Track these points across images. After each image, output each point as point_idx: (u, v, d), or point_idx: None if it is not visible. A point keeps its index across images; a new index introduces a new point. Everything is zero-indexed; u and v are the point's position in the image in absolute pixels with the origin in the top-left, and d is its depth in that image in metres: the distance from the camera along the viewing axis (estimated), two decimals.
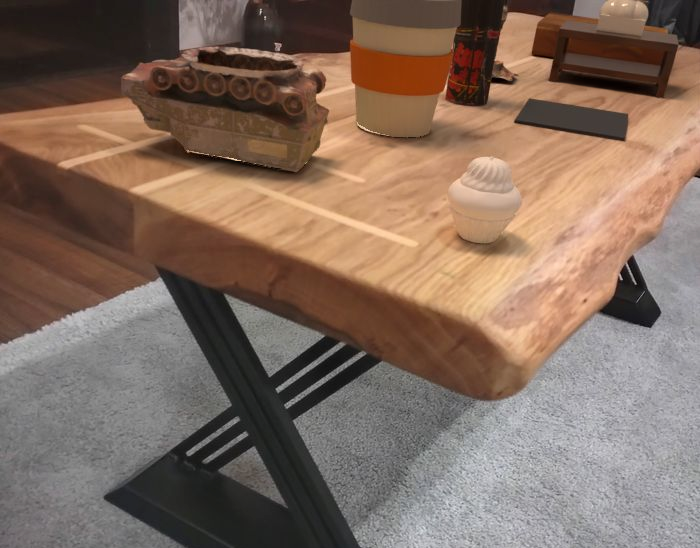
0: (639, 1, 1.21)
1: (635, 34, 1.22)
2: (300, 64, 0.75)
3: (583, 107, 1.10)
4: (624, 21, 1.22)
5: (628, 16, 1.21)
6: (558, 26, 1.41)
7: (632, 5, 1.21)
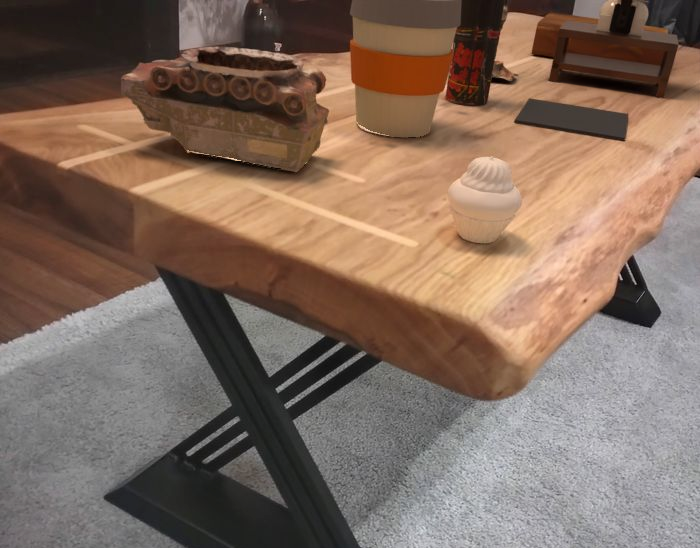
0: (639, 1, 1.21)
1: (635, 34, 1.22)
2: (300, 64, 0.75)
3: (583, 107, 1.10)
4: None
5: None
6: (558, 26, 1.41)
7: None
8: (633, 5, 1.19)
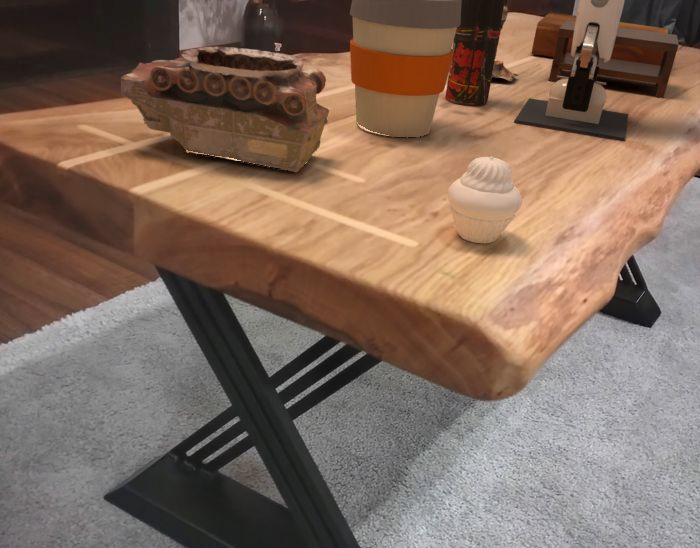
0: (595, 83, 1.01)
1: (591, 121, 1.02)
2: (300, 64, 0.75)
3: None
4: None
5: None
6: (558, 26, 1.41)
7: None
8: (590, 77, 0.96)
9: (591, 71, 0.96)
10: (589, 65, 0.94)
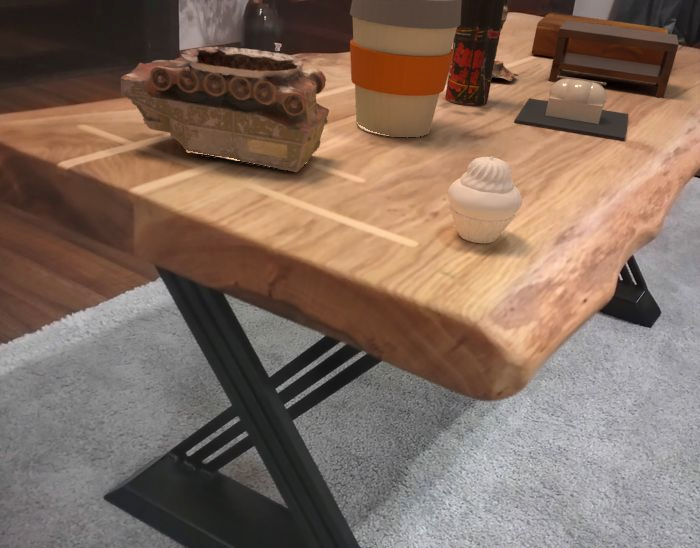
0: (595, 83, 1.01)
1: (591, 121, 1.02)
2: (300, 64, 0.75)
3: None
4: (577, 106, 1.02)
5: (582, 101, 1.01)
6: (558, 26, 1.41)
7: (586, 88, 1.01)
8: None
9: None
10: None
